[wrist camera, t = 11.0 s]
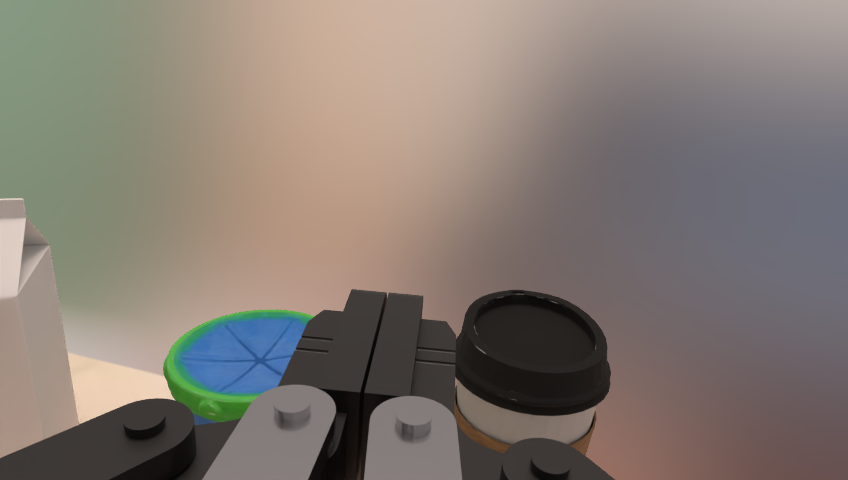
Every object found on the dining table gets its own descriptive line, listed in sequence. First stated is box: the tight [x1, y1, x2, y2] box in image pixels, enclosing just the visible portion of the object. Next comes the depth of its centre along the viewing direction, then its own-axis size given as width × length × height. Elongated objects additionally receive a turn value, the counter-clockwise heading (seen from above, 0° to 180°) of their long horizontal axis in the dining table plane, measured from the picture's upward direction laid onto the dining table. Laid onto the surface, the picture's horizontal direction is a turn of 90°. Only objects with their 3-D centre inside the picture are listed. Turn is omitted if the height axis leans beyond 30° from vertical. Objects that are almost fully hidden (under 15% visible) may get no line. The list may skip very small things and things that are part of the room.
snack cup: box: [163, 310, 315, 425], centre depth 39 cm, size 16×10×10 cm
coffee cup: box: [454, 290, 611, 455], centre depth 35 cm, size 8×8×15 cm
